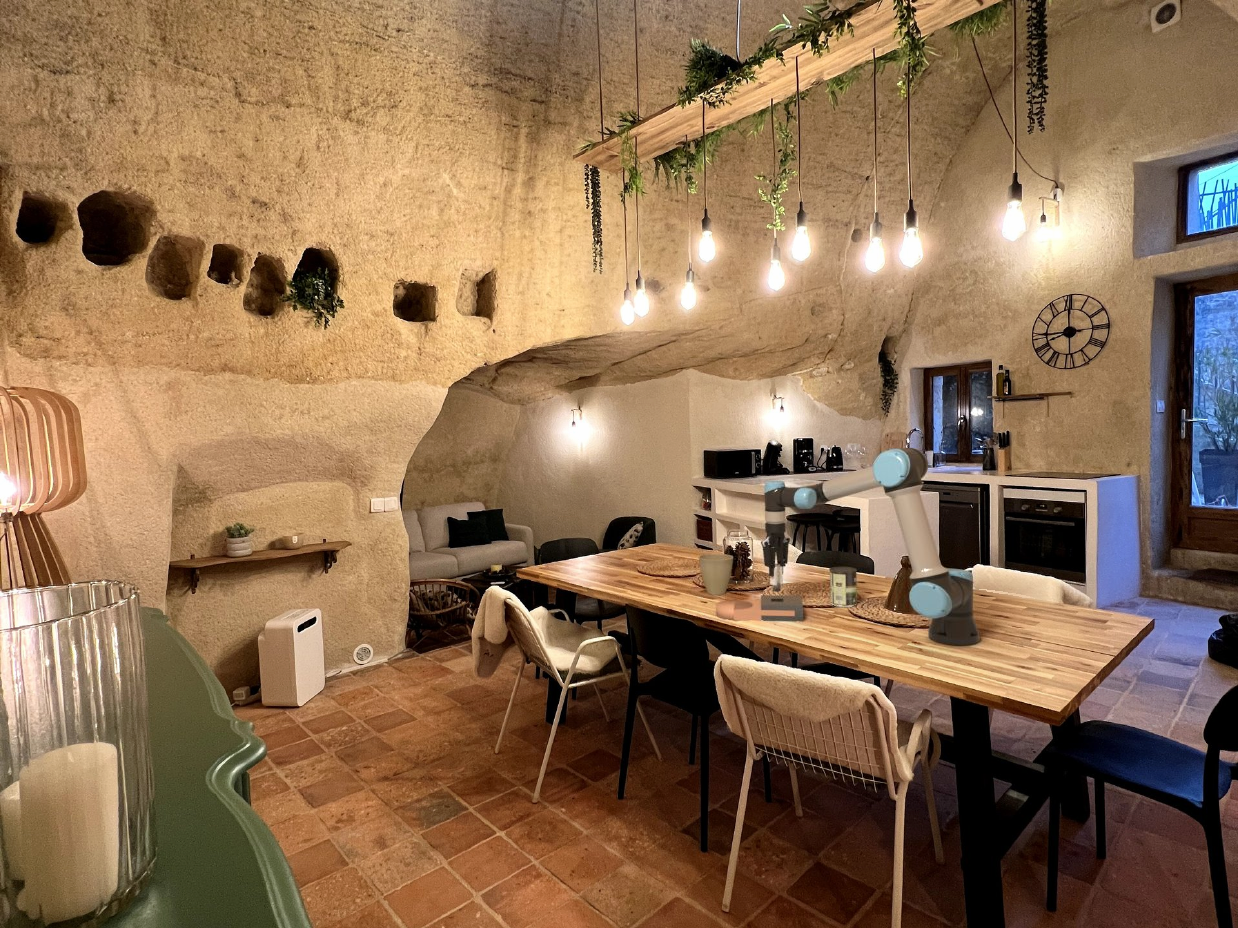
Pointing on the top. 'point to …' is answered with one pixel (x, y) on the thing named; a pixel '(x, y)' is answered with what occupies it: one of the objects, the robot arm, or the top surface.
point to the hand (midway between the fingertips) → (776, 583)
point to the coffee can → (843, 586)
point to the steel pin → (778, 586)
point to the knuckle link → (746, 610)
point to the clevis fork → (782, 607)
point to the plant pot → (716, 572)
